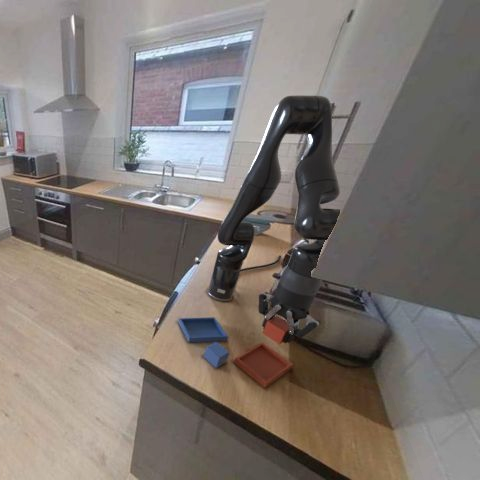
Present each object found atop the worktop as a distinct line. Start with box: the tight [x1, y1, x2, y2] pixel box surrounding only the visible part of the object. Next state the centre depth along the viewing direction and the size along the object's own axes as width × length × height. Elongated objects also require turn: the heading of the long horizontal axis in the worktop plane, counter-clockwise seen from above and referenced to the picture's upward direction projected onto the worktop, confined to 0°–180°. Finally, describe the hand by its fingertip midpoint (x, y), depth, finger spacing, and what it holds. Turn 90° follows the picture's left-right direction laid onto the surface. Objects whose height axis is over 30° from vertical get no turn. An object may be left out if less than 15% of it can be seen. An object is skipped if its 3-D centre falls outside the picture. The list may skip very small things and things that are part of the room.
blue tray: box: [177, 316, 229, 343], centre depth 89 cm, size 13×9×2 cm
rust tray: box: [233, 342, 294, 389], centre depth 77 cm, size 13×9×2 cm
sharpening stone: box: [226, 210, 276, 236], centre depth 164 cm, size 25×8×11 cm, turn 64°
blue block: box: [203, 341, 230, 369], centre depth 78 cm, size 4×4×4 cm
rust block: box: [262, 315, 288, 345], centre depth 70 cm, size 4×4×4 cm
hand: (275, 334), depth 71 cm, fingers closed on rust block, 4 cm apart
